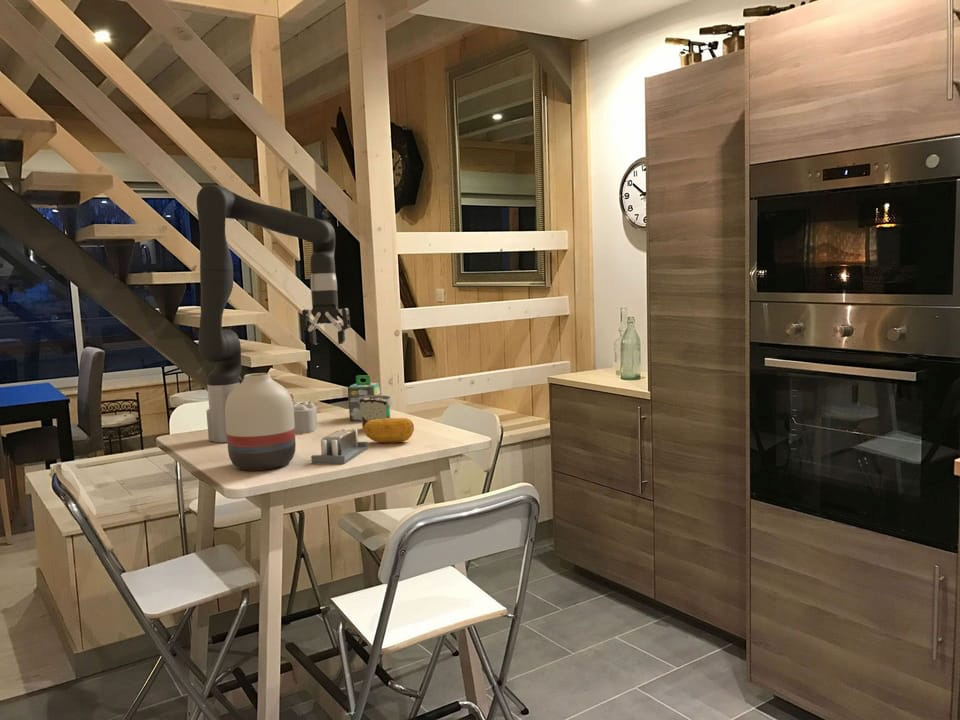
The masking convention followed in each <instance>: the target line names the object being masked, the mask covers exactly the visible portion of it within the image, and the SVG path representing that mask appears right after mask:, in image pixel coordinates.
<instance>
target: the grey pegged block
mask: <svg viewBox="0 0 960 720" xmlns="http://www.w3.org/2000/svg"><path fill="white" fill-rule="evenodd" d="M341 431H348V429H347V428H342V429H341ZM351 431H355V432H356V449H355V450H354V451H352V452H350V453H349V454H347V455H345V456H340V455H338V447H337V440H332V455H327V444H326V440H322V439H321V440H320V448H321V449H320V451H321V454H319V455H318V454H312V455H311V457H310V459H311V461H310V462H311V464H317V463H320V464H323V465H324V464H327V465H330V464H331V465H332V464H333V465H344V464H346V463H348V462H350V461H351V460H353V459H354V458H356V457H358V456H359V455H360V453H361V454H362V453H364V452H365V451H367V450H368V448H369V446H368V441H358V440H359V438H358V428H352V429H351ZM366 449H367V450H366ZM363 451H364V452H363Z"/></svg>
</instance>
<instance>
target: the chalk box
mask: <svg viewBox="0 0 960 720" xmlns="http://www.w3.org/2000/svg"><path fill="white" fill-rule="evenodd" d="M361 379H365V381H363V382H362V381H361ZM355 381H356V383H353V384H351V385H350V386H348V387H347V398H348V411H349V421H350V420H353V421H362V420H361V412H360V405H359V404H358V399H359V397H363V396H372V395H381V389H380V382H379V381H378V382H371V377H370V375H369V374H366V375H365V374H364V375H362V374H359V375H356V376H355Z"/></svg>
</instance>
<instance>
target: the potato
mask: <svg viewBox="0 0 960 720" xmlns="http://www.w3.org/2000/svg"><path fill="white" fill-rule="evenodd" d="M414 426H415V425H414V423H413V421H412V420H411V419H410V418H404V417H401V418H400V417H398V418H397V417H396V418H395V417H390V418H384V419H373V420H370V421H368V422H367V423H366V424H365V425H364V429H363V432H364V434H365V436H366V437H367V438H369V439H370V440H372V441H373V442H378V443H380V444H396V443H401V442H402V443H404V442H405V441H408V440H409V439H410V438H411V437H412V436H413V434H414V430H415V427H414Z"/></svg>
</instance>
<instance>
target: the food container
mask: <svg viewBox="0 0 960 720" xmlns="http://www.w3.org/2000/svg"><path fill="white" fill-rule="evenodd" d="M358 404H359V405H360V412H361V420H360V421H361V426H362V430H364V425H365V424H366V423H367V422H368V421H370V420H373V419H384V418H391V406H392V405H393V404H394V403H393V399H392V398H391V396H389V395H381V394H380V395H372V396H363V397H359V399H358Z"/></svg>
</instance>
